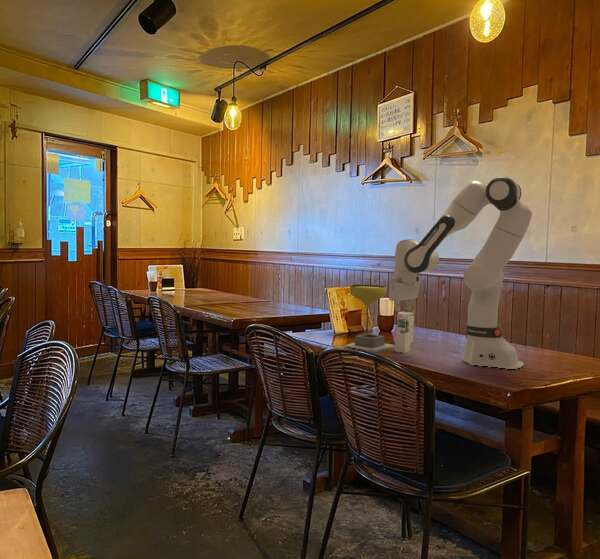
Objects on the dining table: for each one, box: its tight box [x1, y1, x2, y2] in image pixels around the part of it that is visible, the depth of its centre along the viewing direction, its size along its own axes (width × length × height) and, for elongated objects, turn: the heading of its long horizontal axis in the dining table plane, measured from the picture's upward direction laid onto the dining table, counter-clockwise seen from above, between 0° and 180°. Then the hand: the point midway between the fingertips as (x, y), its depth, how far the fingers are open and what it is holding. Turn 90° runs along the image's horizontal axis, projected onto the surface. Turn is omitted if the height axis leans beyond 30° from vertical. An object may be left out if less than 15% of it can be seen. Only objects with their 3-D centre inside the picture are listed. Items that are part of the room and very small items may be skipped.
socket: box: [344, 333, 395, 353], centre depth 220 cm, size 16×16×5 cm
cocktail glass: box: [349, 284, 387, 336], centre depth 248 cm, size 18×18×25 cm
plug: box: [394, 330, 411, 354], centre depth 212 cm, size 4×4×9 cm
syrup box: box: [396, 311, 415, 345], centre depth 231 cm, size 6×6×14 cm
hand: (402, 310), depth 212 cm, fingers open, 8 cm apart
